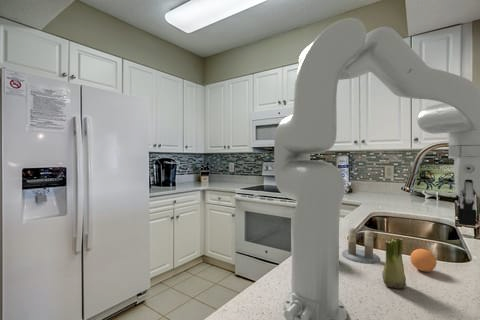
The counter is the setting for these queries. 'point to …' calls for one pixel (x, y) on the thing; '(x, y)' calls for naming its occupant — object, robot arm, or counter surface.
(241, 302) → the counter surface
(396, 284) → the fennel bulb
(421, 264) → the ball
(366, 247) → the front pin
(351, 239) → the back pin
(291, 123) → the robot arm
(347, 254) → the light blue plate
